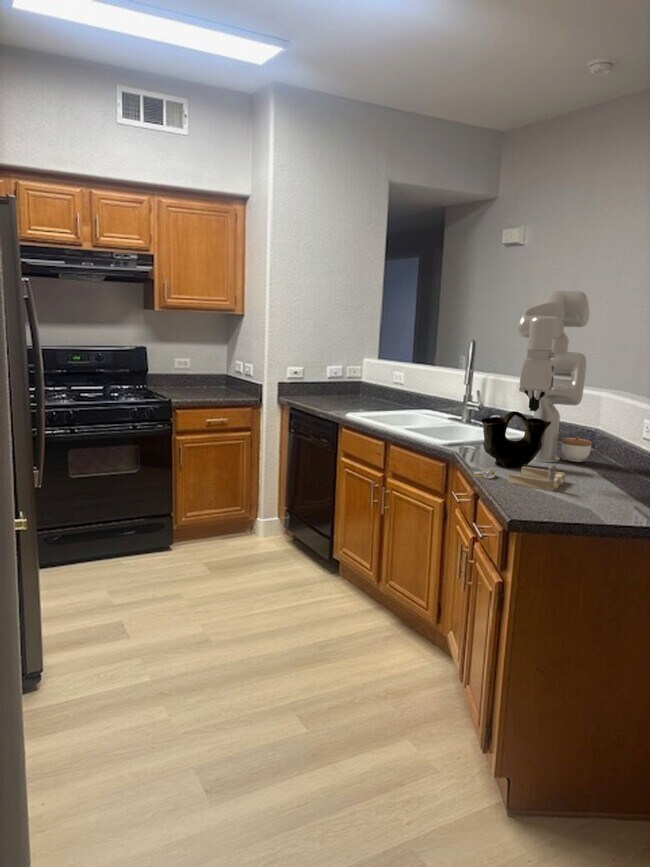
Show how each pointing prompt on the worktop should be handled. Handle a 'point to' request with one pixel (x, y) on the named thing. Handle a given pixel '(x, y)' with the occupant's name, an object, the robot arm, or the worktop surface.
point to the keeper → (538, 478)
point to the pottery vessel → (513, 450)
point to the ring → (484, 474)
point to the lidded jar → (576, 448)
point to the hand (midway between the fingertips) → (533, 410)
